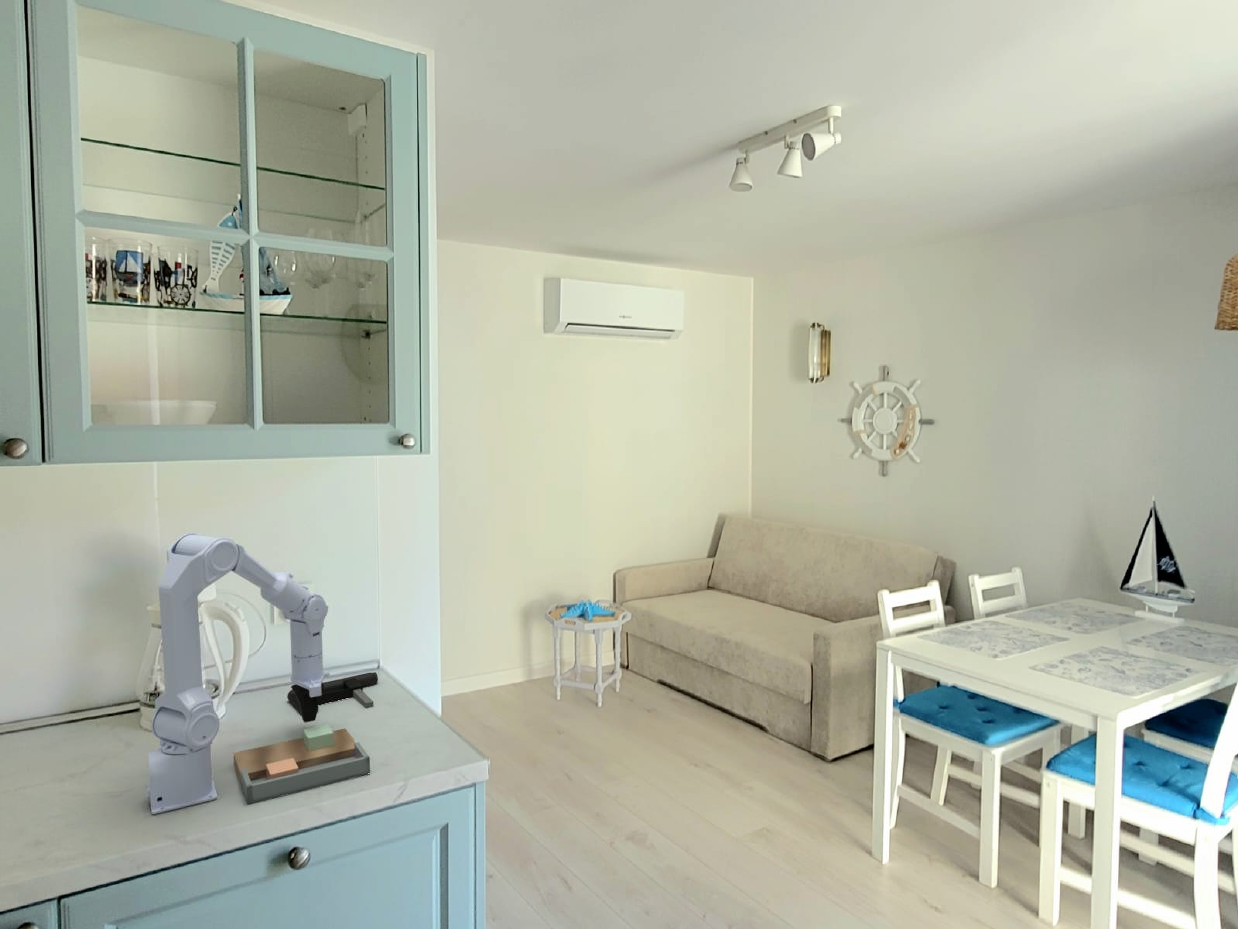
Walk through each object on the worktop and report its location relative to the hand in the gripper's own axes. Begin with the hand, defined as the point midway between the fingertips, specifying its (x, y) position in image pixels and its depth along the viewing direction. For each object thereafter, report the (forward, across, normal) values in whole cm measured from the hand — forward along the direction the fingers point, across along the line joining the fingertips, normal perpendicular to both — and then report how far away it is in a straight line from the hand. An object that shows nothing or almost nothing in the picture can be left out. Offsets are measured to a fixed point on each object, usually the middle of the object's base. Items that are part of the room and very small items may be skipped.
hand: (309, 720), depth 155 cm
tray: (+3, -18, +4) cm, 18 cm away
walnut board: (+3, -9, +4) cm, 10 cm away
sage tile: (+2, -8, 0) cm, 9 cm away
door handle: (+4, +17, -10) cm, 20 cm away
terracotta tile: (+3, -17, +8) cm, 19 cm away
